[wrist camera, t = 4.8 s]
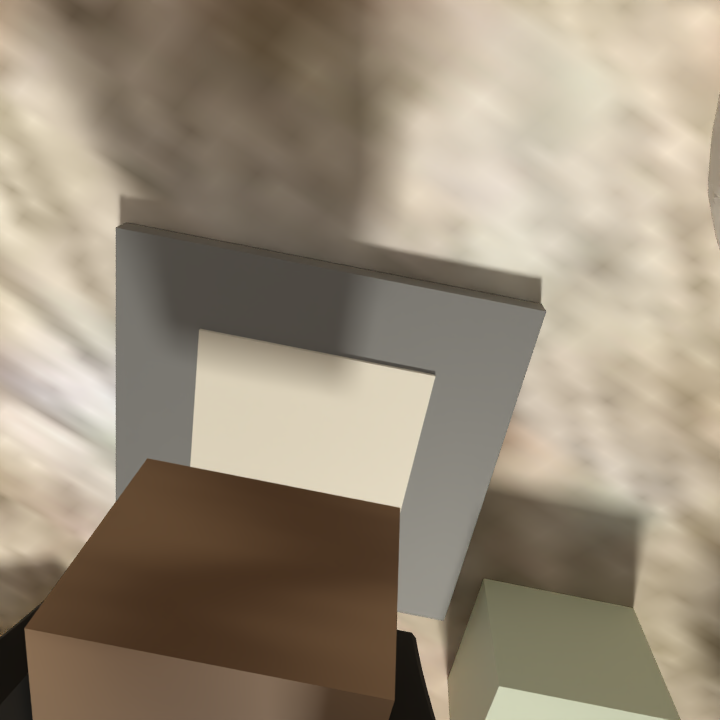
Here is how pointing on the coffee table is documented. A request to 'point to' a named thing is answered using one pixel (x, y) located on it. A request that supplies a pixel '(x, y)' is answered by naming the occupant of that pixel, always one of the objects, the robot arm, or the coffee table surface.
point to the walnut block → (222, 606)
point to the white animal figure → (715, 174)
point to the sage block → (554, 660)
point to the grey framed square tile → (320, 384)
